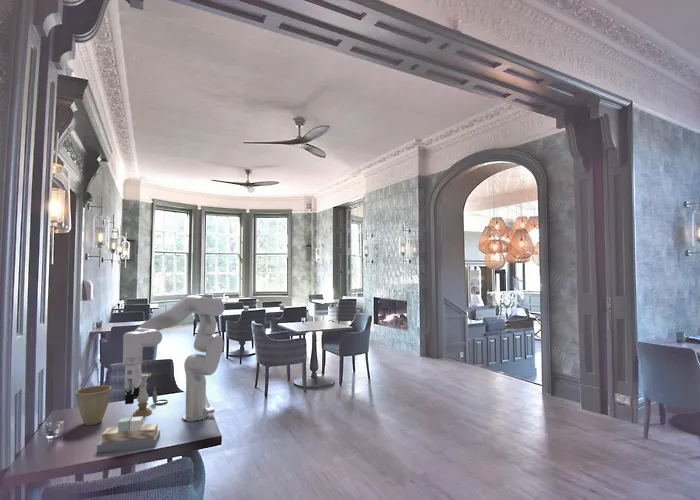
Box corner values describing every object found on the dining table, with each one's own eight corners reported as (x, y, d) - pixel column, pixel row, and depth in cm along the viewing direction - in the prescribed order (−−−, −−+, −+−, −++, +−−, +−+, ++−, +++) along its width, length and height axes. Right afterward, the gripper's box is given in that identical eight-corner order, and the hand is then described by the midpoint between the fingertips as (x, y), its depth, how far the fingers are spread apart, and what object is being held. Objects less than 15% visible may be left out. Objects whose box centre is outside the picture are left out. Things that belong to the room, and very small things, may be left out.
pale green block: (131, 426, 179) (131, 417, 180) (128, 430, 174) (128, 421, 175) (121, 427, 178) (121, 418, 178) (118, 431, 173) (118, 422, 174)
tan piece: (157, 431, 183) (157, 423, 183) (154, 437, 176) (154, 429, 176) (107, 436, 178) (107, 427, 178) (101, 442, 171) (102, 434, 171)
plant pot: (117, 418, 207) (118, 386, 207) (91, 429, 192) (92, 395, 193) (94, 415, 211) (94, 384, 211) (67, 426, 196) (68, 392, 197)
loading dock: (160, 436, 185) (160, 429, 185) (155, 446, 174) (155, 439, 174) (105, 441, 179) (105, 434, 179) (96, 452, 168) (97, 444, 168)
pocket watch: (170, 402, 232) (170, 384, 233) (159, 406, 224) (159, 388, 225) (158, 400, 235) (159, 382, 235) (147, 405, 227) (147, 386, 227)
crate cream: (142, 425, 180) (143, 416, 181) (140, 429, 176) (140, 420, 176) (132, 426, 179) (133, 417, 180) (129, 430, 175) (130, 421, 175)
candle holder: (155, 413, 214) (156, 373, 215) (139, 418, 207) (140, 377, 208) (145, 410, 219) (146, 371, 220) (129, 415, 212) (130, 375, 212)
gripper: (137, 364, 171) (137, 405, 171) (146, 355, 188) (145, 393, 188) (117, 365, 169) (117, 407, 169) (128, 356, 186) (127, 394, 186)
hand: (132, 400), depth 178 cm, fingers open, 9 cm apart
